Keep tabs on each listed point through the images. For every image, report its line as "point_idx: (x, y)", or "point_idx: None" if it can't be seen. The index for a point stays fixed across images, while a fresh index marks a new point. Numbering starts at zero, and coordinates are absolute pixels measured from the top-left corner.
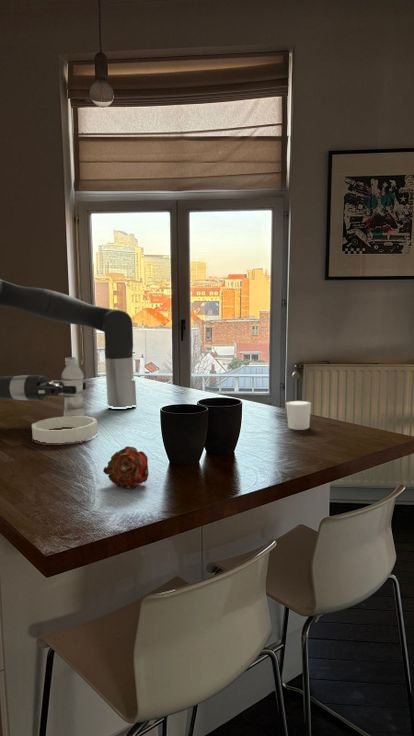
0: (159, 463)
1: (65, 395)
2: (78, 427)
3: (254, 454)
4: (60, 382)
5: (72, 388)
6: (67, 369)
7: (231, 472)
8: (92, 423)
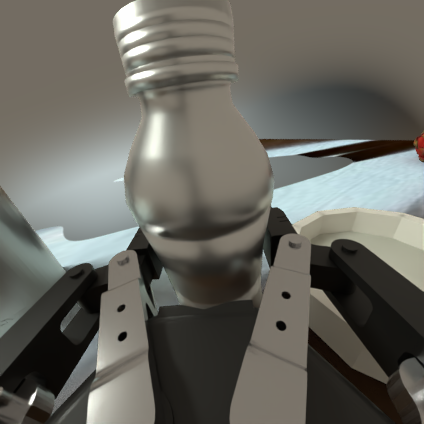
0: (360, 165)
1: (254, 286)
2: (389, 214)
3: (291, 151)
4: (147, 318)
5: (277, 210)
6: (245, 123)
7: (338, 147)
8: (337, 210)
